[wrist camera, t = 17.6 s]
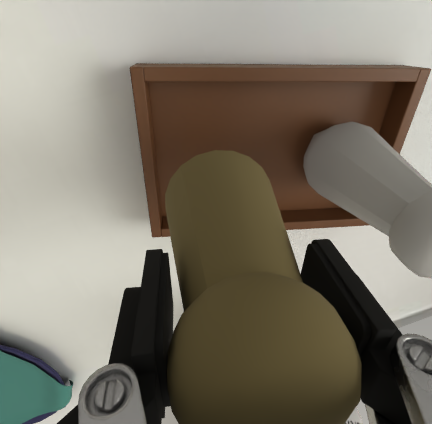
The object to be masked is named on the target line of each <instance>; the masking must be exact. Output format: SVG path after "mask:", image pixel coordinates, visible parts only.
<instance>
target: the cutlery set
mask: <svg viewBox="0 0 432 424" xmlns="http://www.w3.org/2000/svg"><path fill="white" fill-rule="evenodd" d="M69 381H70V385H71V386H65V384H64V382H63V381H62V379H61V377H60V375H59V374H58V372H56V371H55V370H54V369H53V368H51V367H50V366H49V365H47V364H46V363H45V362H43V361H42V360H41V359H39V358H36V357H34V356H32V355H30V354H27V353H25V352H23V351H20V350H18V349H16V348H12V347H8V346H3V345H0V424H33V423H37V422H40V421H42V420H44V419H45V418H47V417H49V416H51V415H52V414H54V413H56V412H57V410H60V409H62V408H64V407H65V406H66V405H67V404H68V403H69V401H70V399H71V397H72V386H73V382H72V381H71V380H69Z"/></svg>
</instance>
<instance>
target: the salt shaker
mask: <svg viewBox="0 0 432 424" xmlns="http://www.w3.org/2000/svg"><path fill="white" fill-rule="evenodd" d="M303 167H304V171H305V175H306V178H307V181H308V184H309V185H310V186H311V187H312V188H313V189H314V190H315V191H316V192H317V193H318V194H320V195H321V196H323V197H325V198H326V199H328V200H330V201H331V202H333V203H334V204H336V205H338V206H339V207H341V208H343V209H344V210H346V211H348V212H349V213H351V214H353V215H354V216H356V217H358V218H359V219H361V220H363V221H364V222H366V223H368V224H369V225H371V226H373V227H374V228H376V229H378V230H379V231H381V232H383V233H384V234H386V235H388V236H389V245H390V248H391V250H392V252H393V253H394V254H395V255H396V256H397V258H398V259H399V260H400V261H401V262H402V263H403V264H404V265H405V266H406V267H407V268H408V269H409V270H411V271H412V272H414V273H415V274H416V275H418V276H420V277H426V278H432V184H431V183H430V182H428V181H427V180H426V179H425V178H424V177H423V176H422V175H421V174H420V173H419V172H418V171H417V170H415V169H414V168H413V167H412V166H411V165H410V164H409V163H408V162H407V161H406V160H405V159H404V158H403V157H402V156H401V155H400V154H399V153H398V152H397V151H396V150H395V149H393V148H392V147H391V146H390V145H389V144H388V143H387V142H386V141H385V140H384V139H383V138H382V137H381V136H380V135H379V134H378V133H377V132H376V131H375V130H374V129H372V128H371V127H369V126H365V125H362V124H359V123H356V122H347V123H342V124H337V125H334V126H332V127H330V128H328V129H326V130H324V131H321V132H319V133H316V134H314V135H313V138H312V140H311V142H310V144H309V146H308V148H307V150H306V153H305V155H304V164H303Z"/></svg>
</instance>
